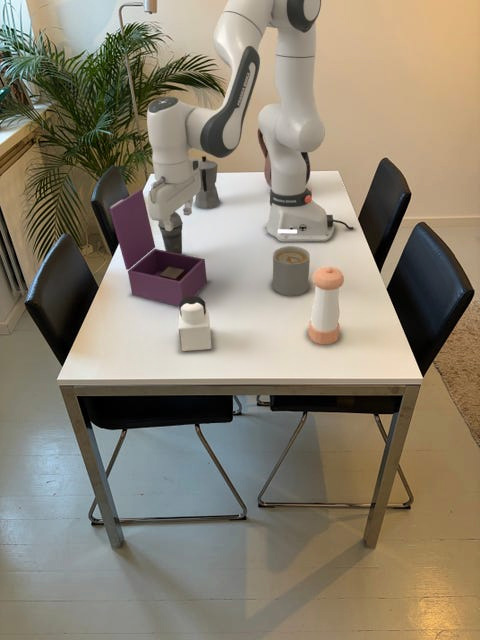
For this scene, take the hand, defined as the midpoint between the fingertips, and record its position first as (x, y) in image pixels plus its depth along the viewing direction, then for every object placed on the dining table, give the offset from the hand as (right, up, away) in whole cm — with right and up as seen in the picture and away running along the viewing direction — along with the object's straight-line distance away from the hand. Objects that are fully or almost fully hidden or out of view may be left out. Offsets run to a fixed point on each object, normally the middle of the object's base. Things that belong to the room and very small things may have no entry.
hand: (179, 221), depth 131 cm
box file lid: (-12, -1, +4) cm, 13 cm away
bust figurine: (+5, -31, -8) cm, 33 cm away
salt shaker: (+37, -30, -8) cm, 48 cm away
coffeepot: (+4, +17, +57) cm, 60 cm away
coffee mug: (+31, -15, +12) cm, 36 cm away
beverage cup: (-4, -6, +26) cm, 27 cm away
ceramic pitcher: (+33, +25, +66) cm, 78 cm away
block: (-3, -16, +11) cm, 20 cm away
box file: (-4, -17, +12) cm, 21 cm away
